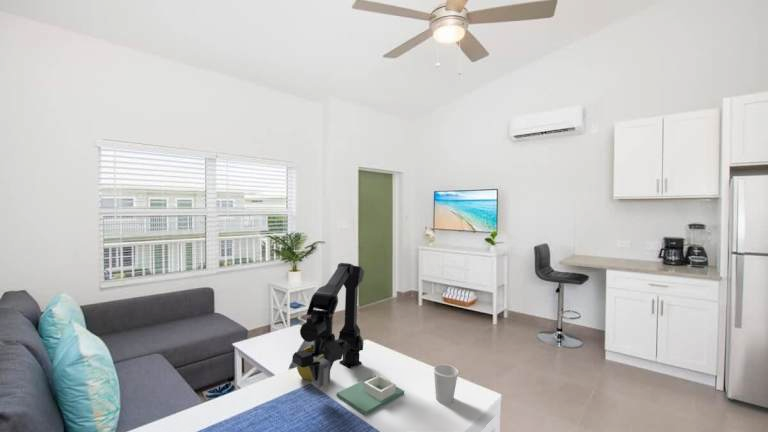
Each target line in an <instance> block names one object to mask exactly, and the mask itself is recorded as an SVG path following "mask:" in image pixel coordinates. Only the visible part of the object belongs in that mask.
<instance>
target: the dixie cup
mask: <svg viewBox="0 0 768 432" xmlns="http://www.w3.org/2000/svg"><path fill="white" fill-rule="evenodd" d="M459 372H460V371H459V370H458V368H456V367H455V366H453V365H449V364H444V363H443V364H437V365H435V366H434V367H433V373H434V374H433V377H434V388H435V390H434V391H435V392H434V394H435V400H436V401H437V402H439V403H441V404H442V405H450V404H452V403H453V401H454V398H455V397H454V396H455V392H456V386H457V381H458V376H459V374H460V373H459Z"/></svg>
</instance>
